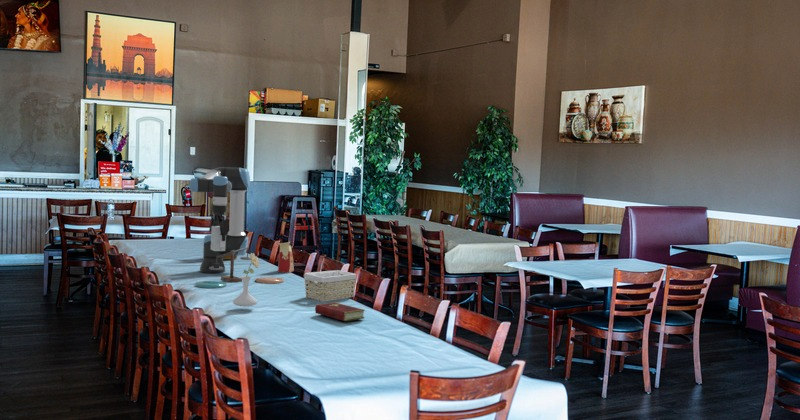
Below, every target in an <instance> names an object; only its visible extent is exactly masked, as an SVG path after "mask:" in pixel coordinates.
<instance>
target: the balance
mask: <svg viewBox="0 0 800 420" xmlns="http://www.w3.org/2000/svg"><path fill="white" fill-rule="evenodd" d="M246 249H247V251H246V255H247V256H240V260H242V261H243V260H244V261H246V260H247V261H251V260H250V256H249V246H248V247H245V248H242V249H239V250H236V251H234V250H231V251H230V252H229V253H226V254H223V255H219V256H216V263H214V267H209V269H211V270H223V269H224V267H219V263H217V258H220V257H223V256H226V255H230V254H231V260H230V271H229V273H230V274H229V275H222V276H220V280H223V281H226V282H229V283H236V282H237V283H239V282H243V280H242V278H241V277H239V276H234V270H235V269H234V267H235V265H234V264H235V259H234V254H235V253H236V252H239V251H243V250H246Z"/></svg>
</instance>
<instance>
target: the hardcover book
mask: <svg viewBox="0 0 800 420" xmlns="http://www.w3.org/2000/svg"><path fill="white" fill-rule="evenodd" d="M314 312H315V314H318V315H321V316H324V317H325V316H326V317H329V318H333V319H336V320H339V321H343V322H349V321H350V322H351V321H357V320H361V319H362V320H363V319H365V316H364V314H365V313H364V312H366V310H365V309H362V308H358V307H355V306H351V305H348V304H347V305H346V304H343V303H339V302H335V301H334V302H327V303H320V304H319V303H318V304H315V309H314Z"/></svg>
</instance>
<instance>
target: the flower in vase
mask: <svg viewBox="0 0 800 420" xmlns="http://www.w3.org/2000/svg"><path fill="white" fill-rule="evenodd" d="M249 257H250V260H249V261H250V262H251V263H250V264H249V267H248V270H246V269H244V270H243V274H245V275H242V276H240V278H242V284H243V286H242V287H243V289H242V292H241V293H240V294H239V295H237V296H236V298H234V299H233V300H232V304H233V305H235V306H239V307H252V306H255V305H257V304H258V300H257V299H256V298H255V297H254V296H253V295H251V294H250V292H249V284H250V281H251V279H252V276H250V275H249V273H251V274H254V273H255V270H254V269H253V268H251V266H253V267H255V268H256V269H259V267H261V266H260V261H259V259H258V256H257V255H255V253H254V252H250V254H249Z"/></svg>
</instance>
